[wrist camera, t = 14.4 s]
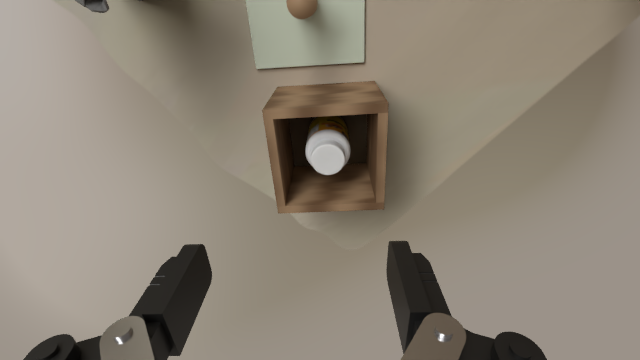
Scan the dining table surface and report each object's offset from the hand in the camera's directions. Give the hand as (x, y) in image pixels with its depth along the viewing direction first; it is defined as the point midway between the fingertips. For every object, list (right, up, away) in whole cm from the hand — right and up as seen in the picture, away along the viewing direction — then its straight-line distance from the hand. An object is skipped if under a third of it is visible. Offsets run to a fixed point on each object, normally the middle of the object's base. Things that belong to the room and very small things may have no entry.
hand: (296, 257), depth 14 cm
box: (+2, +10, +31) cm, 33 cm away
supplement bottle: (+2, +11, +31) cm, 33 cm away
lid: (-1, +25, +24) cm, 35 cm away
